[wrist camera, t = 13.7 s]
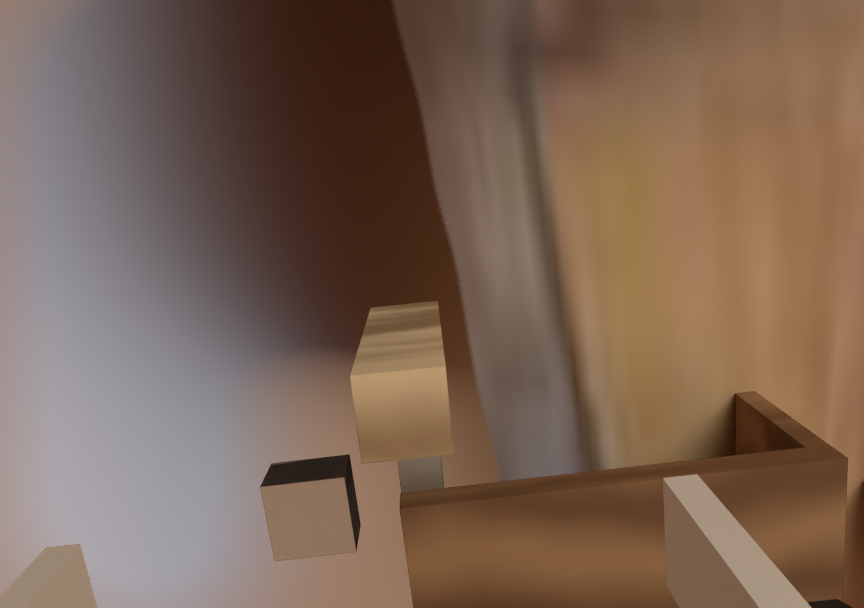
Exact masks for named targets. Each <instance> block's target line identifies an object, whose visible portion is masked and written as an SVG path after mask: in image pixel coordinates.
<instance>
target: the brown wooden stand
mask: <svg viewBox="0 0 864 608" xmlns="http://www.w3.org/2000/svg"><path fill="white" fill-rule="evenodd" d="M735 394H736V455H733V456H724V457H715V458H707V459H698V460H689V461H680V462H671V463H662V464H653V465H645V466H636V467H627V468H618V469H609V470H600V471H591V472H583V473H574V474H565V475H556V476H547V477H538V478H530V479H521V480H512V481H503V482H495V483H486V484H477V485H468V486H460V487H450V488H441V489H432V490H423V491H414V492H406V493H401V495H400V515H401V522H402V529H403V536H404V543H405V550H406V558H407V564H408V572H409V579H410V586H411V593H412V601H413V608H679V606H678V605H677V603H676V601H675V599H674V598H673V596H672V594H671V592H670V590H669V589H668V587H667V585H666V555H665V525H664V495H663V478H668V477H677V476H686V475H695V474H697V475H698V476H699V477H700V478H701V479H702V480H703V482H704V483H705V484H706V485H707V486H708V487H709V489H710V490H711V491H712V492H713V493H714V494H715V496H716V497H717V498H718V499H719V500H720V501H721V503H722V504H723V505H724V506H725V507H726V508H727V510H728V511H729V512H730V513H731V514H732V515H733V517H734V518H735V519H736V520H737V521H738V522H739V524H740V525H741V526H742V527H743V528H744V529H745V530H746V532H747V533H748V534H749V535H750V536H751V537H752V539H753V540H754V541H755V542H756V543H757V544H758V546H759V547H760V548H761V549H762V550H763V551H764V553H765V554H766V555H767V556H768V557H769V558H770V560H771V561H772V562H773V563H774V564H775V565H776V567H777V568H778V569H779V570H780V571H781V572H782V574H783V575H784V576H785V577H786V578H787V579H788V581H789V582H790V583H791V584H792V585H793V586H794V588H795V589H796V590H797V591H798V592H799V593H800V595H801V596H802V597H803V598H804V599H805V600H806V602H813V601H822V600H831V599H839V600H840V601H842V597H843V572H844V547H845V522H846V497H847V472H848V458H847V457H846V456H844V455H843V454H841V453H840V452H839V451H837V450H836V449H834V448H833V447H832V446H830V445H829V444H827V443H826V442H825V441H823V440H822V439H820V438H819V437H818V436H816V435H815V434H813V433H812V432H811V431H809V430H808V429H807V428H805V427H804V426H802V425H801V424H800V423H798V422H797V421H795V420H794V419H793V418H791V417H790V416H788V415H787V414H786V413H784V412H783V411H781V410H780V409H779V408H777V407H776V406H774V405H773V404H772V403H770V402H769V401H768V400H766V399H765V398H763V397H762V396H761V395H759V394H758V393H756V392H755V391H753V392H744V393H735Z"/></svg>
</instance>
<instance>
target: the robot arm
mask: <svg viewBox="0 0 864 608" xmlns="http://www.w3.org/2000/svg"><path fill="white" fill-rule="evenodd" d="M663 495H664V525H665V555H666V585H667V587H668V589H669V590H670V592H671V594H672V596H673V598H674V599H675V601H676V603H677V605H678V606H679V608H852V607H850V606H849V605H847V604H845V603H844V602H842V601H840V600H839V599H831V600H822V601H813V602H806V600H805V599H804V598H803V597H802V596H801V595H800V593H799V592H798V591H797V590H796V589H795V588H794V586H793V585H792V584H791V583H790V582H789V581H788V579H787V578H786V577H785V576H784V575H783V574H782V572H781V571H780V570H779V569H778V568H777V567H776V565H775V564H774V563H773V562H772V561H771V560H770V558H769V557H768V556H767V555H766V554H765V553H764V551H763V550H762V549H761V548H760V547H759V546H758V544H757V543H756V542H755V541H754V540H753V539H752V537H751V536H750V535H749V534H748V533H747V532H746V530H745V529H744V528H743V527H742V526H741V525H740V524H739V522H738V521H737V520H736V519H735V518H734V517H733V515H732V514H731V513H730V512H729V511H728V510H727V508H726V507H725V506H724V505H723V504H722V503H721V501H720V500H719V499H718V498H717V497H716V496H715V494H714V493H713V492H712V491H711V490H710V489H709V487H708V486H707V485H706V484H705V483H704V482H703V480H702V479H701V478H700V477H699V476H698V475H697V474H695V475H686V476H677V477H668V478H663ZM0 608H97V605H96V601H95V598H94V594H93V590H92V587H91V583H90V579H89V576H88V572H87V568H86V565H85V561H84V557H83V554H82V550H81V546H80V544H74V545H65V546H57V547H47V548H45V549H44V550H43V551H42V553H41V554H40V555H39V556H38V557H37V558H36V559H35V560H34V561H33V562H32V563H31V564H30V565H29V566H28V567H27V569H26V570H25V571H24V572H23V573H22V574H21V575H20V576H19V577H18V578H17V579H16V580H15V581H14V582H13V583H12V584H11V585H10V587H9V588H8V589H7V590H6V591H5V592H4V593H3V594H2V595H1V596H0Z"/></svg>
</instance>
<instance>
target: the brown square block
mask: <svg viewBox="0 0 864 608" xmlns="http://www.w3.org/2000/svg"><path fill="white" fill-rule="evenodd" d="M260 489H261V494H262V499H263V504H264V509H265V514H266V519H267V524H268V530H269V534H270V540H271V545H272V550H273V555H274V560H275V561H280V560H290V559H299V558H307V557H315V556H325V555H333V554H342V553H350V552H356V551H357V544H358V537H359V531H360V524H361V523H360V517H359V511H358V504H357V498H356V492H355V486H354V479H353V473H352V467H351V460H350V455H349V454H347V455H339V456H330V457H322V458H313V459H305V460H296V461H288V462H278V463H272V464H271V465H270V468H269V470H268V472H267V474H266V476H265V478H264V480H263V482H262V484H261V487H260Z"/></svg>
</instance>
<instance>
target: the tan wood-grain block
mask: <svg viewBox="0 0 864 608" xmlns="http://www.w3.org/2000/svg"><path fill="white" fill-rule="evenodd" d="M350 380H351V388H352V396H353V403H354V410H355V418H356V425H357V433H358V440H359V447H360V454H361V462H362V463H372V462H382V461H392V460H397V461H398V468H399V477H400V485H401V493H406V492H414V491H423V490H432V489H441V488H444V481H443V471H442V461H441V456H443V455H453V454H454V448H453V438H452V427H451V417H450V408H449V397H448V387H447V376H446V366H445V358H444V350H443V342H442V334H441V325H440V317H439V309H438V301H433V302H423V303H413V304H403V305H393V306H383V307H373V308H371V309H370V312H369V315H368V319H367V322H366V325H365V328H364V332H363V335H362V338H361V341H360V345H359V348H358V351H357V354H356V358H355V361H354V364H353V368H352V371H351V374H350Z"/></svg>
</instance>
